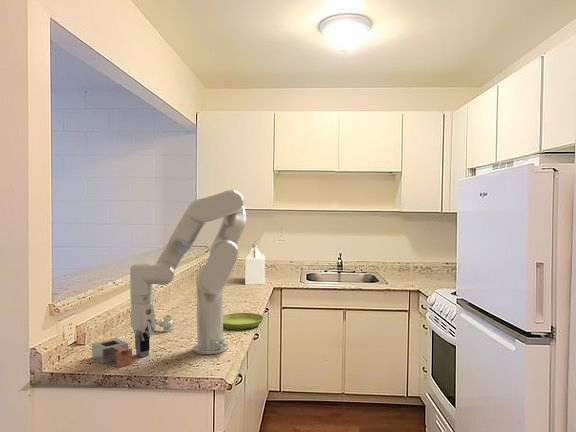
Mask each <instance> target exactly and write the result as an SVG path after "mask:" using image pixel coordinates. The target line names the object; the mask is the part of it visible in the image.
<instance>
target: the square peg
mask: <svg viewBox="0 0 576 432" xmlns="http://www.w3.org/2000/svg"><path fill="white" fill-rule="evenodd" d="M145 331H147V329H146V330H145ZM145 334H147V333H144V335H145ZM140 341H142V340H141V332H140V331H137V330H136V349H135V352H136V353H135V355H136V357H138V358H140V359H141V358H145V357H148V356H150V349H149V350H148V351H144V352H141V351H140Z"/></svg>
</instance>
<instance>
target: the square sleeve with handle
mask: <svg viewBox="0 0 576 432" xmlns="http://www.w3.org/2000/svg"><path fill="white" fill-rule="evenodd" d="M92 357H93V358H94V359H93V358H92ZM91 358H92V359H93V360H95V359H96V360H95V361H97V360H98V361H97V362H98V363H100V362H101V363H100V364H102V363H105V364H109V363H112V361H113V362H116V368H122V367H125V366H129V365H133V349H132V348H129V343H128V342H126V341H124V340H122V339H119V338H117V337H116V338H112V339H108V340H103V341H99V342H93V343H91ZM108 362H109V363H108Z"/></svg>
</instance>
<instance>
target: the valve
mask: <svg viewBox="0 0 576 432" xmlns="http://www.w3.org/2000/svg"><path fill="white" fill-rule="evenodd" d="M173 325H174V323H173V315H170V314H169V315H163V317H162V319H160V320H157V319H156V318H155V326H159V327H162V328H163V333H172V331H173Z"/></svg>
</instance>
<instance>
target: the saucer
mask: <svg viewBox="0 0 576 432" xmlns="http://www.w3.org/2000/svg"><path fill="white" fill-rule="evenodd" d="M264 318H265V317H264V316H263V315H262V314H259V313H255V312H254V313H252V312H235V313H228V314H223V328H225V329H228V330H249V329H252V328H256V327H258V326H259V325H260V324H261V323H262V322H263V321H264Z"/></svg>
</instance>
